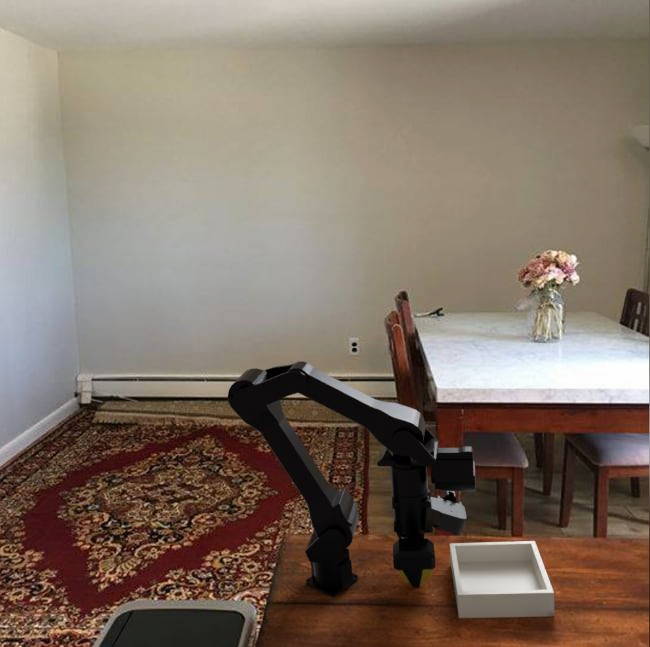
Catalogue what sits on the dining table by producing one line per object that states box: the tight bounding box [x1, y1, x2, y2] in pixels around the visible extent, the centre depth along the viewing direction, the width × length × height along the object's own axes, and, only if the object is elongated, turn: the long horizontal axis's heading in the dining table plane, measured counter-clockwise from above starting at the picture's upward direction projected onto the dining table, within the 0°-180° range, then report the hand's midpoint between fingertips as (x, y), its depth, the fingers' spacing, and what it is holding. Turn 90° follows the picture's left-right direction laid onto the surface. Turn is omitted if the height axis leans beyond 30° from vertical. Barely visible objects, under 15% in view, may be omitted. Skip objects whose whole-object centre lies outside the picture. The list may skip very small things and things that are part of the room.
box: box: [449, 540, 555, 619], centre depth 110 cm, size 14×14×4 cm
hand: (415, 576), depth 113 cm, fingers closed on lemon, 5 cm apart
